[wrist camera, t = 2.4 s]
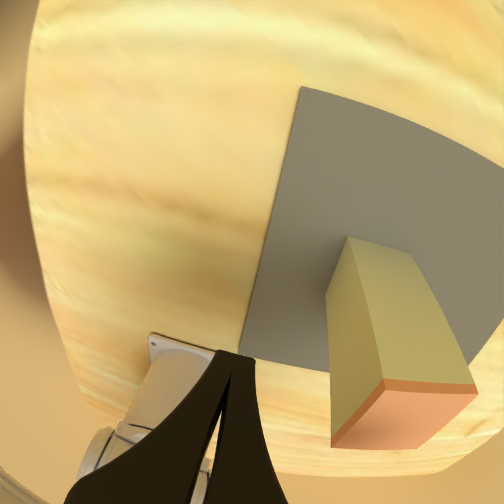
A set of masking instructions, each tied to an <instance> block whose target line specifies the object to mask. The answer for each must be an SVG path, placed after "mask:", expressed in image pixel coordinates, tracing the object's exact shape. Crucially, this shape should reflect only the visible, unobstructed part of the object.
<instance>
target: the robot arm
mask: <svg viewBox="0 0 504 504" xmlns="http://www.w3.org/2000/svg"><path fill="white" fill-rule="evenodd" d="M148 341H149V354H150V365H151V366H150V368H149V370H148V372H147V374H146V376H145V378H144V380H143V382H142V384H141V386H140V388H139V390H138V392H137V394H136V396H135V398H134V400H133V402H132V404H131V406H130V408H129V410H128V412H127V414H126V416H125V418H124V421H123V422H122V421H120V422H119V425H118V427H117V429H116V431H115V429H113V428H111V427H106V428H103V429H100V430H98V432H97V433H96V434H95V436H94V437H93V439H92V441H91V443H90V445H89V446H88V448H87V450H86V453H85V455H84V457H83V459H82V462H81V464H80V467H79V470H78V473H77V478H76V480H77V482H76V484H74V486H73V487H72V488H71V490H70V491H69V493H68V495H67V497H66V499H65V501H64V504H288V502H287V500H286V498H285V495H284V493H283V491H282V488H281V486H280V484H279V481H278V479H277V477H276V474H275V471H274V468H273V466H272V463H271V460H270V456H269V453H268V450H267V446H266V443H265V439H264V435H263V430H262V426H261V421H260V416H259V409H258V403H257V396H256V385H255V362H256V361H255V359H254V358H251V357H247V356H243V355H239V354H235V353H231V352H227V351H223V350H217V351H216V352H212V351H209V350H205V349H202V348H198V347H195V346H191V345H188V344H185V343H181V342H178V341H175V340H171V339H168V338H165V337H162V336H159V335H156V334H150V335H149V337H148ZM221 411H222V414H221ZM220 414H221V420H220V427H219V433H218V439H217V446H216V452H215V458H214V463H213V468H212V470H210V469H209V465H210V461H211V460H210V459H209V458H206V457H205V456H206V453H207V449H208V445H209V442H210V440H211V437H212V435H213V432H214V430H215V427H216V424H217V422H218V419H219V416H220ZM114 432H115V433H114ZM0 504H49V503H48V502H46V501H45V500H43V499H42V498H40V497H39V496H37V495H36V494H34V493H33V492H31V491H30V490H29V489H27V488H26V487H25V486H23V485H22V484H21V483H19V482H18V481H17V480H15V479H14V478H13V477H11V476H10V475H9V474H8V473H6V472H5V471H4V470H3V468H2V467H1V466H0Z"/></svg>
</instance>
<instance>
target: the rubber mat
mask: <svg viewBox="0 0 504 504" xmlns="http://www.w3.org/2000/svg"><path fill="white" fill-rule="evenodd" d="M348 236H349V237H353V238H356V239H360V240H364V241H367V242H371V243H374V244H378V245H382V246H385V247H389V248H392V249H395V250H399V251H402V252H406V253H409V254H411V256H412V257H413V259H414V261H415V263H416V264H417V266H418V268H419V269H420V271H421V273H422V275H423V276H424V278H425V280H426V282H427V283H428V285H429V287H430V289H431V291H432V292H433V294H434V296H435V298H436V300H437V302H438V304H439V306H440V308H441V310H442V311H443V313H444V315H445V317H446V319H447V321H448V324H449V326H450V328H451V330H452V332H453V334H454V336H455V338H456V340H457V343H458V345H459V347H460V349H461V352H462V354H463V356H464V358H465V361H466V363H467V366H468V365H469V364H470V363H471V361H472V360H473V359H474V358H475V356H476V355H477V354H478V353H479V351H480V350H481V349H482V347H483V346H484V345H485V343H486V342H487V341H488V339H489V338H490V337H491V335H492V334H493V332H494V331H495V330H496V328H497V327H498V325H499V324H500V322H501V321H502V319H503V318H504V169H503V168H501V167H500V166H498V165H497V164H495V163H493V162H492V161H490V160H488V159H486V158H485V157H483V156H481V155H479V154H478V153H476V152H474V151H472V150H470V149H468V148H467V147H465V146H463V145H461V144H459V143H457V142H455V141H453V140H451V139H449V138H447V137H445V136H443V135H441V134H438V133H436V132H434V131H432V130H430V129H428V128H425V127H423V126H421V125H418V124H416V123H414V122H411V121H409V120H406V119H404V118H401V117H399V116H396V115H394V114H391V113H389V112H386V111H383V110H380V109H378V108H375V107H372V106H369V105H366V104H363V103H360V102H357V101H354V100H351V99H347V98H344V97H341V96H337V95H334V94H330V93H327V92H323V91H319V90H315V89H311V88H307V87H303V86H302V87H301V91H300V96H299V100H298V104H297V109H296V113H295V118H294V122H293V126H292V131H291V135H290V139H289V144H288V148H287V152H286V156H285V161H284V165H283V169H282V174H281V178H280V182H279V186H278V191H277V195H276V199H275V203H274V207H273V212H272V216H271V220H270V224H269V228H268V232H267V237H266V241H265V245H264V249H263V253H262V257H261V261H260V265H259V270H258V274H257V278H256V282H255V286H254V290H253V294H252V298H251V302H250V306H249V310H248V314H247V318H246V322H245V326H244V330H243V334H242V338H241V342H240V346H239V350H238V354H241V355H246V356H250V357H254V358H258V359H263V360H267V361H272V362H276V363H281V364H286V365H291V366H296V367H301V368H306V369H312V370H317V371H323V372H329V373H330V364H329V344H328V327H327V313H326V300H325V294H326V291H327V289H328V286H329V284H330V281H331V279H332V276H333V274H334V271H335V269H336V266H337V264H338V261H339V258H340V256H341V253H342V250H343V248H344V245H345V242H346V240H347V237H348Z"/></svg>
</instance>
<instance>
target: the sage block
mask: <svg viewBox="0 0 504 504" xmlns="http://www.w3.org/2000/svg"><path fill="white" fill-rule="evenodd" d="M325 300H326V313H327V327H328V344H329V364H330V394H331V448H343V449H363V450H403V449H417V448H418V447H419V446H421V445H422V444H423V443H425V442H426V441H427V440H428V439H430V438H431V437H432V436H433V435H435V434H436V433H437V432H438V431H439V430H441V429H442V428H443V427H444V426H445V425H446V424H448V423H449V422H450V421H451V420H452V419H453V418H454V417H455V416H457V415H458V414H459V413H460V412H461V411H462V410H463V409H464V408H465V407H466V406H467V405H468V404H469V403H470V402H471V401H472V400H473V399H474V398H475V397H476V396H477V395H478V391H477V388H476V386H475V383H474V380H473V378H472V375H471V373H470V370H469V368H468V366H467V363H466V361H465V358H464V356H463V354H462V352H461V349H460V347H459V345H458V343H457V340H456V338H455V336H454V334H453V332H452V330H451V328H450V326H449V324H448V321H447V319H446V317H445V315H444V313H443V311H442V310H441V308H440V306H439V304H438V302H437V300H436V298H435V296H434V294H433V292H432V291H431V289H430V287H429V285H428V283H427V282H426V280H425V278H424V276H423V275H422V273H421V271H420V269H419V268H418V266H417V264H416V263H415V261H414V259H413V257H412V256H411V254H409V253H406V252H402V251H399V250H395V249H392V248H389V247H385V246H382V245H378V244H374V243H371V242H367V241H364V240H360V239H356V238H353V237H349V236H348V237H347V240H346V242H345V245H344V248H343V250H342V253H341V256H340V258H339V261H338V264H337V266H336V269H335V271H334V274H333V276H332V279H331V281H330V284H329V286H328V289H327V291H326V294H325Z"/></svg>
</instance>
